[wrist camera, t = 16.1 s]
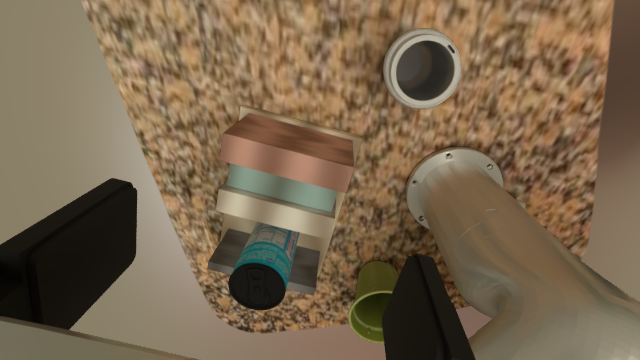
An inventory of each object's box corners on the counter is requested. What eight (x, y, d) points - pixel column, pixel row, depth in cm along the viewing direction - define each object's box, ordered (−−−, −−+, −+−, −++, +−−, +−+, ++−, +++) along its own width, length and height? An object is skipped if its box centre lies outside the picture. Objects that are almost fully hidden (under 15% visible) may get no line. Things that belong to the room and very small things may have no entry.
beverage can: (259, 228, 49) (225, 303, 35) (265, 193, 46) (231, 259, 33) (298, 237, 49) (280, 315, 35) (306, 203, 47) (290, 272, 33)
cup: (444, 65, 39) (482, 75, 28) (399, 103, 41) (418, 127, 30) (407, 16, 38) (432, 8, 27) (362, 59, 40) (368, 67, 29)
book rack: (362, 136, 43) (367, 166, 33) (319, 272, 53) (313, 327, 43) (243, 104, 43) (211, 125, 33) (221, 247, 52) (191, 297, 42)
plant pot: (418, 285, 52) (431, 329, 44) (366, 307, 55) (369, 352, 47) (390, 241, 50) (399, 280, 42) (336, 266, 52) (335, 308, 44)
